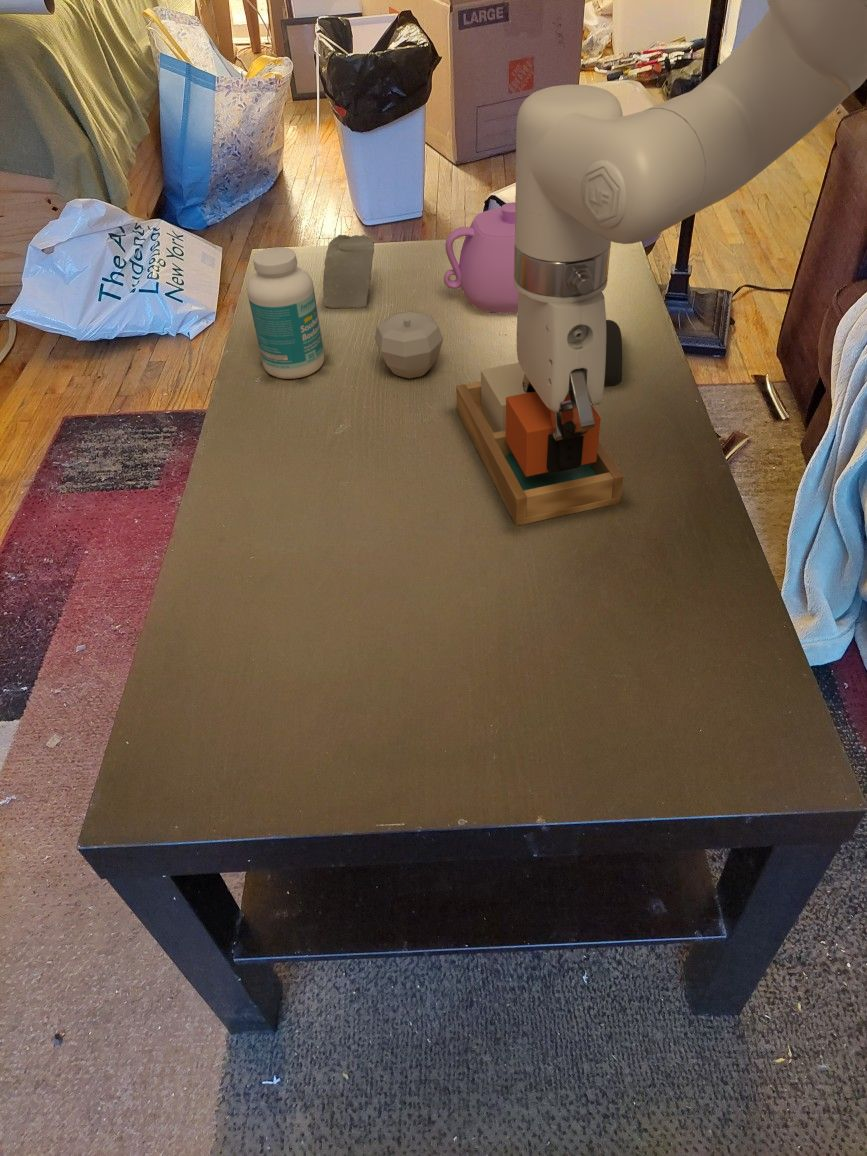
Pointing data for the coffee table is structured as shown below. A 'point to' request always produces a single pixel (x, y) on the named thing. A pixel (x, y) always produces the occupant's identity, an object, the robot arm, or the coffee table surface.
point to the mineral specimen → (348, 271)
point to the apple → (409, 343)
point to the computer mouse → (613, 354)
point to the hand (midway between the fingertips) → (550, 446)
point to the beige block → (499, 392)
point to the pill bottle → (285, 315)
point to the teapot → (486, 261)
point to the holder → (540, 491)
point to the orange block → (540, 432)
